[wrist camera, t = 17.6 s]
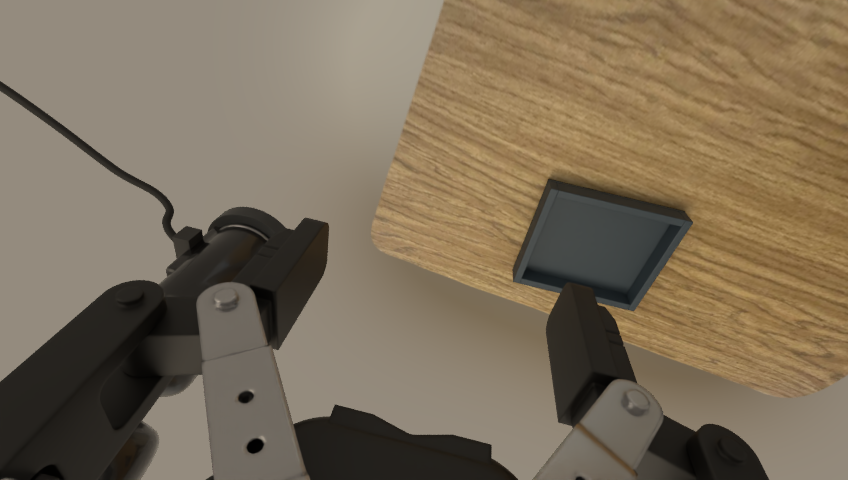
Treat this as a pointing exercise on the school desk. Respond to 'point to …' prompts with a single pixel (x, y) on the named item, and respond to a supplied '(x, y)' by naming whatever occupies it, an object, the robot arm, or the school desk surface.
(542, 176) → the school desk surface
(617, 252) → the tray
